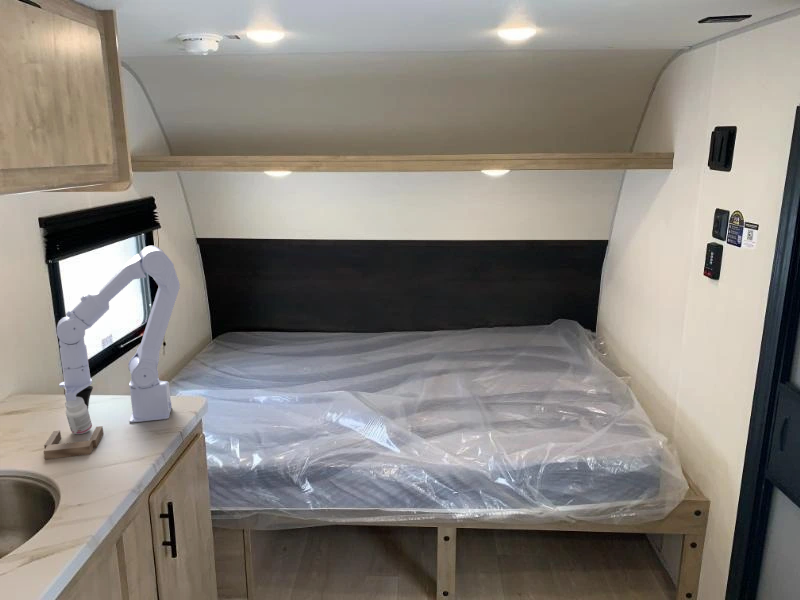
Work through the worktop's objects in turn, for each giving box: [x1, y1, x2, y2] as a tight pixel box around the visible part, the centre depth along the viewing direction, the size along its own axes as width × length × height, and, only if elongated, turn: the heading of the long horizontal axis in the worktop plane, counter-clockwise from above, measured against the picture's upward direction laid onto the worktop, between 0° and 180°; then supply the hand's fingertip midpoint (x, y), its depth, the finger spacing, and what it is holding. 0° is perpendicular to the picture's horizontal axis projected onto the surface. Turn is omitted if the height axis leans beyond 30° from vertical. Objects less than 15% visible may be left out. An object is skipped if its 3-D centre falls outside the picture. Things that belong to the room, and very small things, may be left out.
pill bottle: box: [65, 397, 93, 435], centre depth 149 cm, size 5×5×8 cm
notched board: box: [43, 425, 104, 460], centre depth 143 cm, size 11×10×2 cm
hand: (82, 416), depth 152 cm, fingers closed, pressing on pill bottle
